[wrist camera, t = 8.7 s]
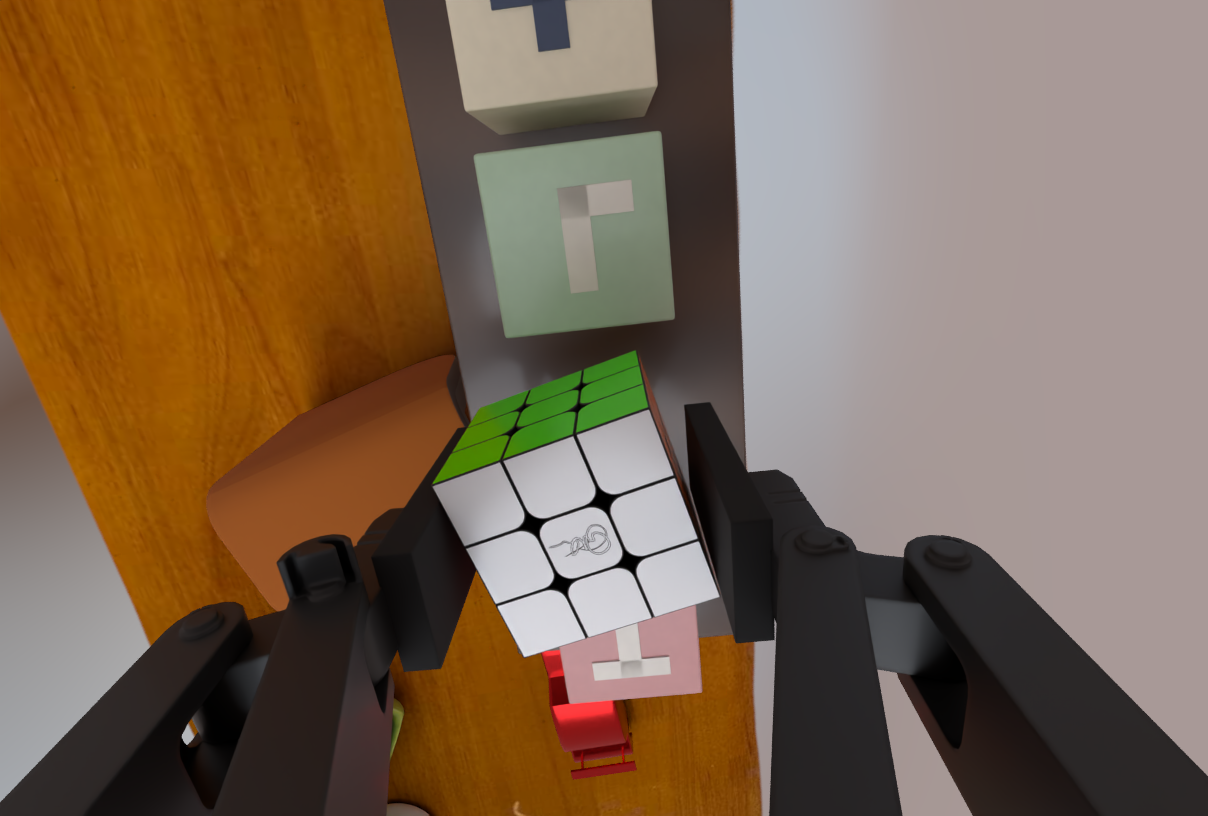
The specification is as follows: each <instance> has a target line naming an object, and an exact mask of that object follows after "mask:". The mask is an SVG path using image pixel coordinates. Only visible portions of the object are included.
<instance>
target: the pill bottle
mask: <svg viewBox="0 0 1208 816" xmlns="http://www.w3.org/2000/svg"><path fill="white" fill-rule="evenodd" d="M386 816H430V815H429V814H428V813H426V812H425V811H424V810H422V809H420V808H418V807H416V806H413V805H409V804H403V803H393V804H387V815H386Z"/></svg>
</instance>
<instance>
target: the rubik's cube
mask: <svg viewBox="0 0 1208 816" xmlns="http://www.w3.org/2000/svg"><path fill="white" fill-rule="evenodd" d="M431 487H432V489H433V491H434V493H435V494H436V496H437V498H438V500H439V502H440V504H441V505H442V507H443V509H444V511H445V513H446V515H447V517H448V518H449V520H450V522H451V524H452V526H453V528H454V530H455V531H456V533H457V535H458V537H459V539H460V541H461V543H462V544H463V546H464V547H465V550H466V552H467V554H468V556H469V557H470V559H471V561H472V563H473V565H474V567H475V568H476V570H477V572H478V574H479V576H480V578H481V580H482V581H483V583H484V585H485V587H486V589H487V591H488V593H489V594H490V596H491V598H492V600H493V602H494V604H496V607H497V609H498V611H499V613H500V615H501V617H502V619H503V620H504V622H505V624H506V626H507V628H508V630H509V632H510V633H511V635H512V637H513V639H514V641H515V643H516V644H517V646H518V648H519V650H520V652H521V654H522V656H523V657H524V658H526V657H529V656H532V655H536V654H539V653H542V652H545V651H549V650H552V649H555V648H558V647H561V646H565V645H568V644H571V643H574V642H578V641H581V640H584V639H587V637H588V638H591V637H594V636H597V635H600V634H603V633H607V632H610V631H613V630H616V629H620V628H623V627H626V626H629V625H633V624H636V623H639V622H642V621H645V620H649V619H652V618H653V617H658V616H662V615H665V614H668V613H671V612H675V611H678V610H681V609H684V608H687V607H691V606H694V605H697V604H700V603H704V602H707V601H710V600H713V599H717V598H720V597H721V593H720V590H719V587H718V583H717V580H716V577H715V573H714V570H713V567H712V563H711V560H710V557H709V553H708V550H707V547H706V543H705V540H704V537H703V533H702V530H701V527H700V523H699V520H698V517H697V514H696V510H695V507H694V504H693V500H692V497H691V494H690V491H689V488H688V486H687V483H686V480H685V478H684V475H683V472H682V469H681V467H680V464H679V461H678V459H677V456H676V453H675V451H674V448H673V445H672V443H671V440H670V437H669V435H668V432H667V429H666V426H665V424H664V421H663V418H662V416H661V413H660V410H659V408H658V405H657V402H656V400H655V397H654V394H653V391H652V389H651V386H650V383H649V381H648V378H647V375H646V373H645V370H644V367H643V365H642V362H641V359H640V357H639V354H638V351H637V350H635V351H632V352H630V353H627V354H624V355H621V356H619V357H616V358H613V359H611V360H608V361H605V362H603V363H600V364H597V365H594V366H592V367H589V368H586V369H584V370H581V371H578V372H576V373H573V374H570V375H568V376H565V377H562V378H559V379H557V380H554V381H551V382H549V383H546V384H543V385H541V386H538V387H535V388H532V389H531V390H527V391H524V392H522V393H519V394H516V395H514V396H511V397H508V398H506V399H503V400H500V401H497V402H495V403H492V404H489V405H487V406H484V407H481V408H479V410H478V411H477V413H476V415H475V416H474V418H473V419H472V421H471V423H470V424H469V426H468V427H467V429H466V430H465V432H464V434H463V435H462V437H461V438H460V440H459V442H458V443H457V445H456V446H455V448H454V450H453V451H452V453H451V454H450V456H449V458H448V459H447V461H446V462H445V464H444V466H443V467H442V469H441V470H440V472H439V473H438V475H437V477H436V478H435V480H434V481H433V483H432V485H431Z"/></svg>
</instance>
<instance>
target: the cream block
mask: <svg viewBox="0 0 1208 816" xmlns="http://www.w3.org/2000/svg"><path fill="white" fill-rule="evenodd" d="M445 1H446V6H447V12H448V18H449V24H450V29H451V35H452V41H453V46H454V52H455V58H456V63H457V69H458V75H459V80H460V86H461V92H462V97H463V103H464V109H465V111H466V112H467V113H469V114H470V115H472V116H473V117H475V118H476V119H478V120H479V121H480V122H482V123H483V124H485V125H486V126H488V127H489V128H490V129H492V130H493V131H495V132H496V133H498V134H499V135H504V134H512V133H520V132H528V131H536V130H543V129H551V128H559V127H567V126H575V125H582V124H590V123H598V122H606V121H614V120H622V119H629V118H637V117H644V116H645V114H646V111H647V109H648V107H649V104H650V102H651V100H652V97H653V95H654V92H655V90H656V88H657V85H658V82H657V68H656V54H655V41H654V27H653V13H652V0H445Z"/></svg>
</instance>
